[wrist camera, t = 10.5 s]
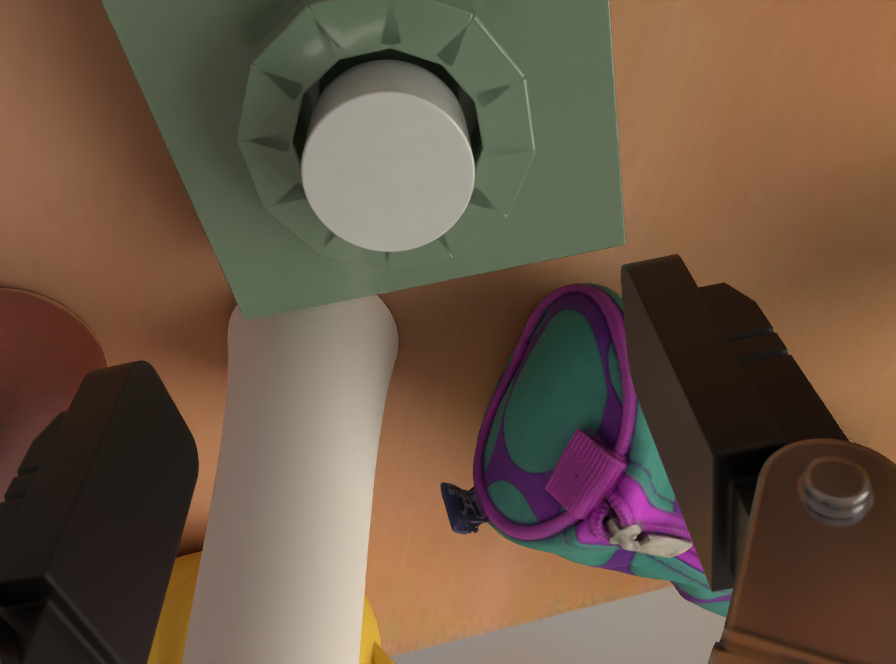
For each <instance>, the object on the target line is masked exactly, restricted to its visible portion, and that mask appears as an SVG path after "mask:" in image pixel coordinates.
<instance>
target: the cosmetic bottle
mask: <svg viewBox="0 0 896 664" xmlns="http://www.w3.org/2000/svg"><path fill="white" fill-rule="evenodd" d="M398 346H399V338H398V331H397V326H396V323H395V321H394V318H393V316H392V314H391V312H390V311H389V309H388V308H387V306H386V305H385V304H384V302H383V301H382V300H381V299H380V298H379V297H378V296H377V295H372V296H367V297H362V298H357V299H352V300H347V301H342V302H337V303H332V304H327V305H322V306H317V307H312V308H307V309H302V310H297V311H292V312H287V313H282V314H277V315H272V316H267V317H262V318H257V319H252V320H248V321H245V320H244V318H243V316H242V314H241V311H240V309H239V307H238V305H236V307H235V308H234V310H233V312H232V315H231V317H230V321H229V325H228V378H227V393H226V403H225V414H224V421H223V429H222V437H221V444H220V451H219V457H218V464H217V471H216V477H215V483H214V488H213V494H212V500H211V506H210V511H209V517H208V523H207V528H206V534H205V539H204V545H203V550H202V556H201V561H200V567H199V572H198V577H197V583H196V588H195V594H194V599H193V605H192V610H191V615H190V621H189V626H188V632H187V637H186V642H185V648H184V654H183V659H182V664H359V655H360V642H361V630H362V617H363V605H364V592H365V580H366V568H367V555H368V543H369V532H370V520H371V509H372V498H373V488H374V479H375V470H376V460H377V453H378V445H379V438H380V431H381V425H382V418H383V412H384V407H385V402H386V397H387V392H388V387H389V383H390V379H391V375H392V371H393V368H394V364H395V361H396V357H397V353H398Z"/></svg>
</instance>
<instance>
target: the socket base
mask: <svg viewBox="0 0 896 664" xmlns="http://www.w3.org/2000/svg"><path fill="white" fill-rule="evenodd" d="M101 2H102V4H103V7H104V9H105V11H106V13H107V16H108V18H109V20H110V22H111V24H112V27H113V29H114V31H115V33H116V36H117V38H118V40H119V42H120V44H121V47H122V49H123V51H124V53H125V56H126V58H127V60H128V62H129V64H130V67H131V69H132V71H133V73H134V76H135V78H136V80H137V82H138V84H139V87H140V89H141V91H142V93H143V96H144V98H145V100H146V102H147V104H148V107H149V109H150V111H151V113H152V116H153V118H154V120H155V122H156V124H157V127H158V129H159V131H160V133H161V136H162V138H163V140H164V142H165V145H166V147H167V149H168V151H169V153H170V156H171V158H172V160H173V162H174V165H175V167H176V169H177V171H178V173H179V176H180V178H181V180H182V182H183V185H184V187H185V189H186V191H187V193H188V196H189V198H190V200H191V202H192V205H193V207H194V209H195V211H196V213H197V216H198V218H199V220H200V222H201V225H202V227H203V229H204V231H205V233H206V236H207V238H208V240H209V242H210V245H211V247H212V249H213V251H214V253H215V256H216V258H217V260H218V262H219V265H220V267H221V269H222V271H223V274H224V276H225V278H226V280H227V282H228V285H229V287H230V289H231V291H232V294H233V296H234V298H235V300H236V302H237V305H238V307H239V309H240V311H241V314H242V316H243V318H244V320H245V321H248V320H252V319H257V318H262V317H267V316H272V315H277V314H282V313H287V312H292V311H297V310H302V309H307V308H312V307H317V306H322V305H327V304H332V303H337V302H342V301H347V300H352V299H357V298H362V297H367V296H372V295H377V294H382V293H387V292H392V291H397V290H402V289H407V288H412V287H417V286H422V285H427V284H432V283H437V282H442V281H447V280H452V279H457V278H462V277H467V276H472V275H477V274H482V273H487V272H492V271H497V270H502V269H507V268H512V267H517V266H522V265H527V264H532V263H537V262H542V261H547V260H552V259H557V258H562V257H567V256H572V255H577V254H582V253H587V252H592V251H597V250H602V249H607V248H612V247H617V246H621V245H625V244H626V236H625V221H624V207H623V192H622V177H621V162H620V148H619V133H618V118H617V103H616V88H615V74H614V59H613V44H612V29H611V14H610V0H101ZM375 60H399V61H404V62H408V63H412V64H415V65H417V66H420V67H422V68H424V69H426V70H428V71H430V72H431V73H433V74H434V75H436V76H437V77H438V78H440V79H441V80H442V81H443V82H444V83H445V84H446V85H447V86H448V87H449V88H450V90H451V91H452V92H453V93H454V95H455V96H456V98H457V100H458V101H459V103H460V105H461V108H462V110H463V112H464V116H465V119H466V123H467V128H468V133H469V138H470V143H471V148H472V152H473V157H474V165H475V181H474V187H473V192H472V195H471V198H470V201H469V203H468V205H467V207H466V209H465V211H464V212H463V214H462V215H461V217H460V218H459V219H458V221H457V222H456V223H455V224H454V225H453V226H452V227H451V228H450V229H449V230H448V231H447V232H446V233H444V234H443V235H441V236H440V237H439V238H437V239H435V240H434V241H432V242H430V243H428V244H425V245H423V246H420V247H418V248H414V249H410V250H405V251H397V252H383V251H374V250H369V249H365V248H362V247H359V246H356V245H353V244H351V243H349V242H347V241H345V240H343V239H342V238H340V237H338V236H337V235H336V234H334V233H333V232H332V231H330V230H329V229H328V228H327V227H326V226H325V225H324V224H323V223H322V222H321V221H320V220H319V218H318V217H317V216H316V214H315V213H314V212H313V210H312V208H311V206H310V205H309V203H308V200H307V198H306V196H305V193H304V189H303V185H302V179H301V160H302V154H303V149H304V145H305V140H306V136H307V132H308V127H309V123H310V118H311V115H312V111H313V108H314V106H315V104H316V102H317V100H318V98H319V96H320V95H321V93H322V92H323V90H324V89H325V88H326V87H327V85H328V84H329V83H330V82H331V81H332V80H333V79H335V78H336V77H337V76H338V75H339V74H341V73H343V72H344V71H346V70H347V69H349V68H352V67H354V66H356V65H358V64H362V63H365V62H368V61H375Z"/></svg>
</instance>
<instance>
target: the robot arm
mask: <svg viewBox="0 0 896 664" xmlns="http://www.w3.org/2000/svg"><path fill="white" fill-rule="evenodd" d="M621 285H622V298H623V310H624V323H625V336H626V349H627V358H628V364H629V370H630V375H631V379H632V383H633V387H634V390H635V393H636V396H637V399H638V401H639V404H640V407H641V409H642V412H643V414H644V417H645V420H646V422H647V425H648V427H649V430H650V433H651V435H652V438H653V440H654V443H655V446H656V448H657V451H658V453H659V456H660V459H661V461H662V464H663V466H664V469H665V472H666V474H667V477H668V479H669V482H670V485H671V487H672V490H673V492H674V495H675V498H676V500H677V503H678V505H679V508H680V511H681V513H682V516H683V518H684V521H685V524H686V526H687V529H688V531H689V534H690V537H691V539H692V542H693V544H694V547H695V550H696V552H697V555H698V557H699V560H700V563H701V565H702V568H703V571H704V573H705V576H706V578H707V581H708V584H709V586H710V589H711V591H712V592H716V591H722V590H728V589H733V591H732V595H731V600H730V604H729V608H728V613H727V617H726V621H725V626H724V630H723V633H722V637H721V640H720V642H716V643H715V645H714V646H713V649H712V652H711V655H710V658H709V661H708V664H896V464H894V463H893V462H892V461H891V460H889V459H888V458H886V457H885V456H883V455H882V454H880V453H878V452H876V451H874V450H872V449H870V448H868V447H865V446H862V445H859V444H856V443H852V442H850V441H849V440H848V439H847V437H846V436H845V435H844V433H843V432H842V430H841V429H840V427H839V426H838V424H837V423H836V421H835V420H834V418H833V417H832V415H831V414H830V412H829V411H828V409H827V408H826V406H825V405H824V403H823V402H822V400H821V399H820V397H819V396H818V394H817V393H816V391H815V390H814V388H813V387H812V385H811V384H810V382H809V381H808V379H807V378H806V376H805V375H804V373H803V372H802V370H801V369H800V367H799V366H798V364H797V363H796V361H795V360H794V358H793V357H792V355H788V352H787V348H786V347H785V345H784V344H783V342H782V341H781V339H780V338H779V336H778V335H777V333H774V332H773V327H772V326H771V324H770V323H769V321H768V320H767V318H766V317H765V315H764V314H763V312H762V311H761V309H760V308H759V306H758V305H757V303H756V302H755V301H754V300H752V299H750V298H749V297H747V296H745V295H744V294H742V293H741V292H739V291H737V290H736V289H734V288H733V287H731V286H729V285H728V284H726V283H720V284H714V285H709V286H704V287H699V288H698V286H697V285H696V283H695V281H694V279H693V278H692V276H691V274H690V272H689V271H688V269H687V267H686V266H685V264H684V262H683V260H682V259H681V257H680V256H679V255H677V254H675V255H670V256H665V257H660V258H655V259H650V260H645V261H640V262H635V263H630V264H625V265H622V268H621ZM198 470H199V460H198V452H197V447H196V444H195V440H194V438H193V436H192V434H191V432H190V430H189V428H188V426H187V425H186V423H185V421H184V419H183V418H182V416H181V414H180V412H179V410H178V409H177V407H176V405H175V403H174V402H173V400H172V398H171V396H170V395H169V393H168V391H167V389H166V388H165V386H164V384H163V382H162V381H161V379H160V377H159V375H158V374H157V372H156V370H155V369H154V368H153V366H152V365H151V364H150V363H148V362H146V361H143V360H140V361H135V362H130V363H125V364H120V365H115V366H110V367H105V368H100V369H95V370H91V371H89V372H88V373H87V374H86V375H85V377H84V378H83V380H82V382H81V384H80V386H79V388H78V390H77V392H76V394H75V396H74V398H73V400H72V402H71V404H70V406H69V408H68V410H67V411H63V412H60V413H59V414H58V415H57V416H56V417H55V418H54V419H53V420H52V421H51V422H50V423H49V425H48V426H47V427H46V428H45V429H44V430H43V431H42V432H41V433H40V434H39V435H38V436H37V437H36V438H35V439H34V440H33V441H32V443H31V445H30V447H29V449H28V451H27V453H26V455H25V457H24V459H23V460H22V462H21V464H20V466H19V468H18V470H17V472H18V476H17V477H14V478H13V479H12V481H11V483H10V485H9V487H8V489H7V491H6V493H5V495H4V498H5V501H4V502H1V503H0V664H147V662H148V658H149V655H150V651H151V647H152V644H153V640H154V636H155V632H156V629H157V625H158V621H159V618H160V614H161V610H162V607H163V603H164V599H165V596H166V592H167V588H168V585H169V581H170V577H171V573H172V570H173V566H174V562H175V559H176V555H177V551H178V548H179V544H180V540H181V537H182V533H183V529H184V526H185V522H186V518H187V514H188V511H189V507H190V503H191V500H192V496H193V492H194V489H195V485H196V481H197V477H198Z"/></svg>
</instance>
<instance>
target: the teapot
mask: <svg viewBox="0 0 896 664" xmlns="http://www.w3.org/2000/svg"><path fill="white" fill-rule="evenodd" d="M201 556H202V551H200V552H196V553H192V554H188V555H185V556H181V557H178V558H176V559H175V562H174V566H173V570H172V573H171V577H170V581H169V585H168V588H167V592H166V596H165V599H164V603H163V607H162V610H161V614H160V618H159V621H158V625H157V629H156V632H155V636H154V640H153V644H152V647H151V651H150V655H149V658H148V662H147V664H182V659H183V654H184V648H185V642H186V637H187V632H188V626H189V621H190V615H191V610H192V605H193V599H194V594H195V588H196V583H197V577H198V572H199V567H200V561H201ZM359 664H395V663H394V662H393V660H392V659H391V658H390V657H389V656H388V655H387V654H386V653H385V652H384V651H383V650H382V649H381V643H380V635H379V629H378V626H377V622H376V619H375V616H374V613H373V610H372V608H371V606H370V604H369V601H368V599H367V597H366V595H365V594H364V605H363V617H362V630H361V642H360V655H359Z"/></svg>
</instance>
